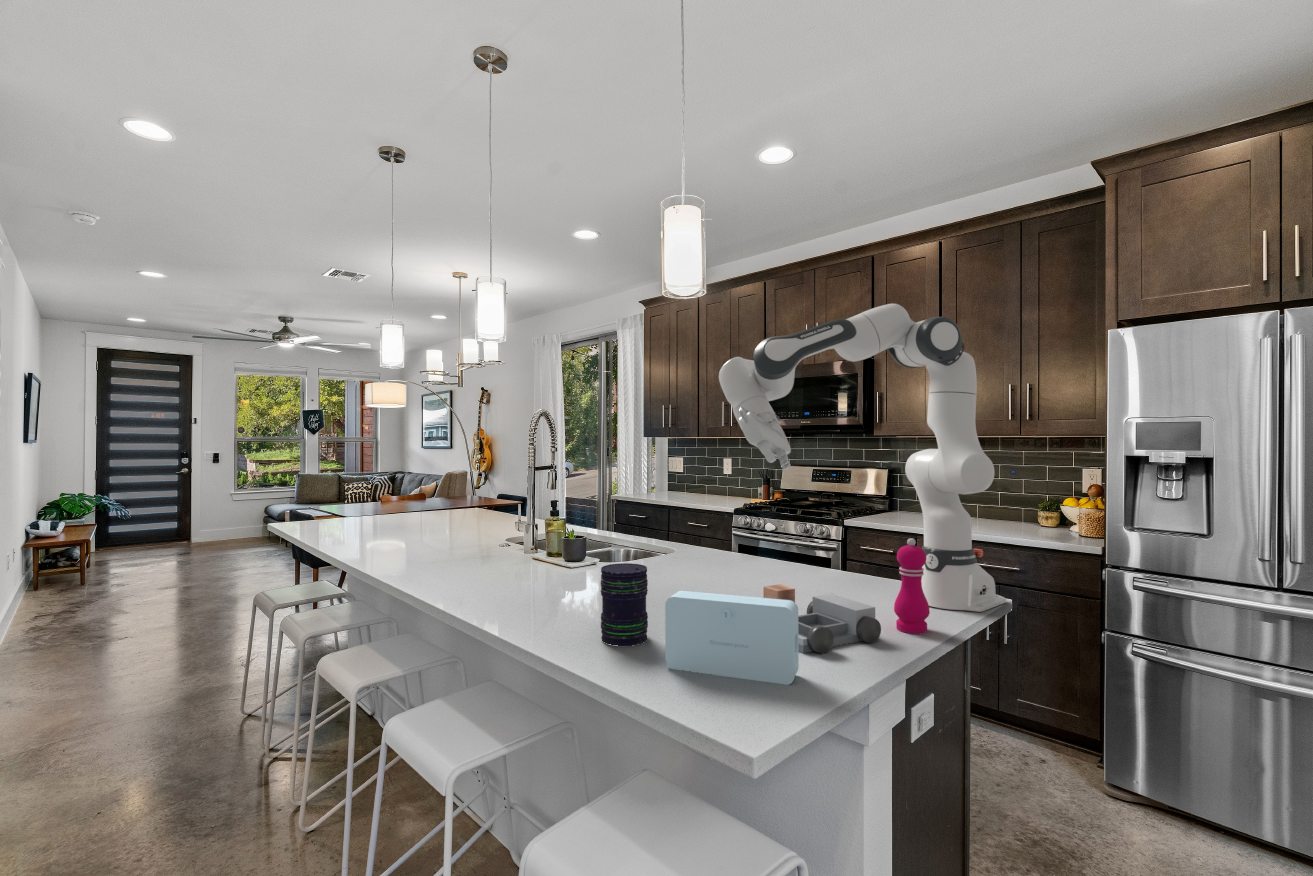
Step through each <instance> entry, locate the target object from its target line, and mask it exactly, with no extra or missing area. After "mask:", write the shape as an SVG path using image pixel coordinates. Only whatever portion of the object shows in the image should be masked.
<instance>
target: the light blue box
mask: <svg viewBox="0 0 1313 876" xmlns="http://www.w3.org/2000/svg"><path fill="white" fill-rule="evenodd" d="M664 612H665V614H664V616H665V617H664V620H665V621H664V625H665V628H664V629H665V630H664V631H665V634H664V635H665V646H664V647H665V652H664V653H665V664H666V666H667V667H668V669H670V670H676V671H682V670H684V672H689V671H691V672H690V673H697V672H698V674H705V675H711V674H712V676H720V677H727V678H734V679H741V680H748V681H749V680H750V681H758V682H762V683H763V682H764V683H769V684H770V683H772V684H776V685H777V684H778V685H779V684H780V685H787V686H789V685H791V684H792V683H793V682H794V680H795V677H796V675H797V673H798V672H799V671H798V670H799V665H800V663H799V659H800V658H799V651H798V616H799V606H798V605H797V604H796V602H795V603H794V602H793V601H791V600H782V599H770V598H764V597H758V596H757V597H756V596H746V595H736V594H735V595H734V594H724V593H723V594H722V593H714V592H712V593H710V592H700V591H691V590H690V591H689V590H678V591H677V592H676V593H674V594H672V595H671V596H670V597H668V598H667V599H666V601H665V604H664Z"/></svg>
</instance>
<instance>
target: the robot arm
mask: <svg viewBox="0 0 1313 876" xmlns="http://www.w3.org/2000/svg"><path fill="white" fill-rule="evenodd" d="M959 327H960V326H958V324H957V323H956V322H955V321H954V320H953V319H951V318H949V317H944V316H934V317H933V316H932V317H929V318H927V319H924V320H920V321H917V322H916V321H913V319H911V317H910V315H909V313H908V311H907V309H905V308H904V306H901V305H900V304H898V303H887V304H883V305H879V306H876V307H873V308H870V309H867V310H865V311H862V312H861V313H858V314H856V315H853V316H850V317H848V318H846V319H845V318H840V319H839V318H838V319H835V320H830V321H827V322H824V323H821V324H817V325H815V326H813V327H810V328H806V329H804V330H800V331H798V332H795V333H791V334H786V335H776V336H775V335H774V336H770V337H768V338H765V339H763V340H761V342H760V343H759V342H758V344H757V345H756V347H755V348H754V351H753V360H751V359H748V358H747V359H746V358H744V357H741V356H735V357H733V358H730V359H729V360H727V361H726V362H725V363H724V364H723V365H722V366H721V368H720V370H719V373H718V381H719V384H720V387H721V390H722V393H723V394H724V396H725V399H726V402H728V403H729V404H730V405H731V407H732V413H733V415H734V417H735V419H736V421H737V423H738V425H739V427H740V429H741V431H742V432H743V435H744V437H745V439H746V440H747V442H748V444H750V445H752V446H754V447H756V448H758V450H759V451H760V452H761V454H762V455H763V456H764V458H765V459H766V461H767V463H771V464H772V463H774V462H775V461H777V459H778V460H779V465H780V466H781V468H782V470H784V471H787V470H789V469H791V467H792V466H791V464H790V461H789V457H788V455H789V454H790V453H791V452H792V449H791V446H790V443H789V439H788V438H787V436H786V434H785V431H784V430H783V428H782V426H781V424H782V421H781V419H780V417H779V416H778V415H777V413H776V412H775V411H774V409H773V407H772V405H771V404H770V402H772V401H776V400H780V399H783V398H785V397H787V396H788V395H789V394H790V393H791V391H792V390H793V388H794V384H795V376H796V375H795V373H796V368H797V366H798V365H799V363H800V362H801V361H802V360H804V359H806V358H808V357H811V356H814V355H817V354H820V353H822V352H825V351H828V350H835V352H836V353H837V354H838V356H840V357H841V358H842V359H844V360H845V361H849V362H853V363H854V362H859V361H863V360H866V359H869V358H871V357H874V356H875V355H878V354H880V353H881V352H883V351H887V352H889V354H890V356H891V357H892V359H893V360H894V362H895V363H896V364H898V365H899V366H901V367H903V368H908V369H909V368H910V369H915V368H920V367H925V369H926V370H927V373H928V377H929V388H928V400H927V411H926V423H927V426H928V428H929V429H930V430H932V432H933V434H934V436H935V438H936V444H937V448H926V449H922V450H919V451H917V452H913V453H912V454H910V456H909V457H908V458H907V460H906V462H905V465H904V468H905V469H904V470H905V471H904V473H905V476H906V478H907V480H908V482H910V483H911V484H912V486H913V487H914V489H915V491H916V495H917V497H918V501H919V505H920V507H921V508H920V509H921V513H922V520H923V524H922V525H923V545H922V546H921V548H922V549H923V550H924V552H925V554H926V563H925V564H924V565H923V566H922V568H923V569H924V571H923V573H924V575H923V576H922V580H921V582H922V589H923V593H924V595H925V597H926V600H927V602H928V605H929V607H933V608H937V609H943V610H951V611H953V610H954V611H970V612H978V613H979V612H985V611H987V610H990V609H993V608H994V607H998V606H1000V605H1003V604H1005V603H1007V599H1006V598H1005V596H1001V595H999V594H996V581H995V579H994V577H993V576H992V575H990V574H989V572H987V571H986V570H985V569H984V568H982V567H981V566H980V565H979V564H978V563H977V562H978V561H977V558H982V557H983V556H984V551H983V549H980V548H976V547H975V548H973V546H972V541H973V539H972V538H973V537H972V535H973V532H972V530H973V529H972V527H973V526H972V522H973V520H972V517H971V515H970V514H969V512H968V511H967V510H966V509H965V508H964V506H963V504H962V502H961V499H960V495H973V494H977V493H978V494H979V493H982V492H985V491H986V490H987V489H988V488H989V487H991V485H992V483H993V482H994V479H995V467H994V464H993V461H992V459H990V457H989V456H988V455H987V454H986V453H985V452H984V449H982V446H981V443H980V441H979V438H978V433H977V426H976V416H977V415H976V414H977V413H976V411H977V408H976V407H977V393H978V392H977V391H978V380H977V370H976V362H975V359H974V357H973V355H971V354H970V353H969V352H965V351H964V350H965V344H964V342H963V335H962V332H961V331H962V330H961V329H960V328H959ZM989 489H990V488H989Z"/></svg>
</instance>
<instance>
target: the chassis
mask: <svg viewBox="0 0 1313 876" xmlns="http://www.w3.org/2000/svg"><path fill="white" fill-rule="evenodd" d="M806 608H807V609H806V614H801V615H798V653H801V654H807V653H810V651H812V652H816V653H818V654H822V655H823V653H824V654H826V653H828V652H829V651H830V650H831V649H832V648H834V647H833V646H836V647H839V646H838V645H840V646H844V645H843V644H845V645H849V644H848V643H850V644H854V643H853V642H855V643H858V641H860V642H865V643H868V644H873V643H872V642H874V643H876V642H877V641H878V640H879V638H880V636H881V633H882V625H881V623H880V621H879V620H878V619H877V618H876V607H875V606H873V605H869V604H866V603H863V602H859V601H855V600H852V599H850V598H846V597H843V596H839V595H836V594H835V593H834V594H833V593H828V594H821V595H813V596H812V600H811V601H810V603H809V604H808V605H807V607H806Z"/></svg>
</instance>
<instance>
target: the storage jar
mask: <svg viewBox="0 0 1313 876" xmlns="http://www.w3.org/2000/svg"><path fill="white" fill-rule="evenodd" d="M600 572H601V575H600V595H601V597H602V598H601V602H602V605H601V606H602V608H601V610H602V611H601V613H600V620H601V621H600V629H601V632H600V633H601V637H600V640H601V639H602V641H603V642H605V643H607V644H611V645H618V646H630V647H633V646H632V645H636V646H638V645H637V644H640V645H642V644H641V643H643V642H645V641H646V640H647V641H648V635H647V633H648V627H649V623H648V622H649V621H648V619H649V615H648V612H647V595H648V591H649V590H648V585H649V584H648V583H649V582H648V581H649V580H648V573H647V572H648V567H647V566H646V565H643V564H639V563H631V562H630V563H629V562H628V563H627V562H625V563H624V562H623V563H621V562H619V563H611V564H606V565H604V566H602V567H601V568H600ZM602 641H601V642H602ZM647 641H646V642H647ZM603 642H602V643H603ZM646 642H645V643H646ZM607 644H606V645H607ZM643 644H644V643H643Z"/></svg>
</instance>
